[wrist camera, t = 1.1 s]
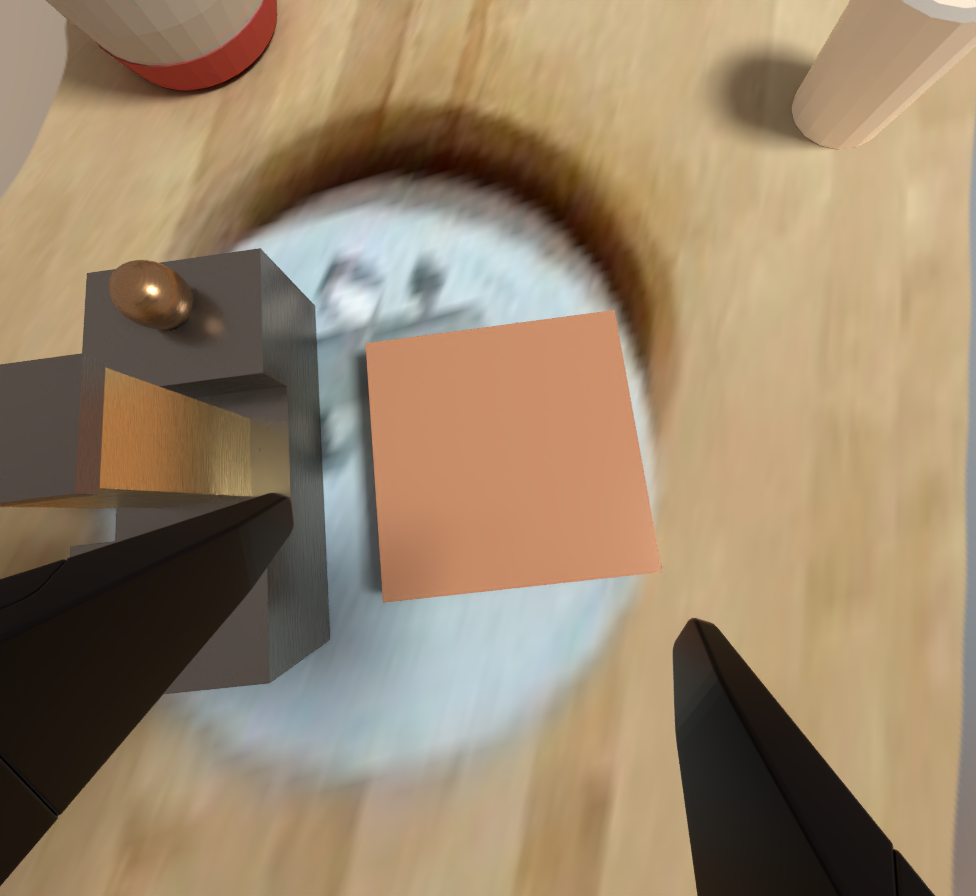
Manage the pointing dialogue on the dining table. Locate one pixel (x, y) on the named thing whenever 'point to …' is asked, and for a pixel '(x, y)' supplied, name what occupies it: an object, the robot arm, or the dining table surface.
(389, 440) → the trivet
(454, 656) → the dining table surface
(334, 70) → the dining table surface
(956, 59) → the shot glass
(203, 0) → the citrus juicer
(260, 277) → the body
